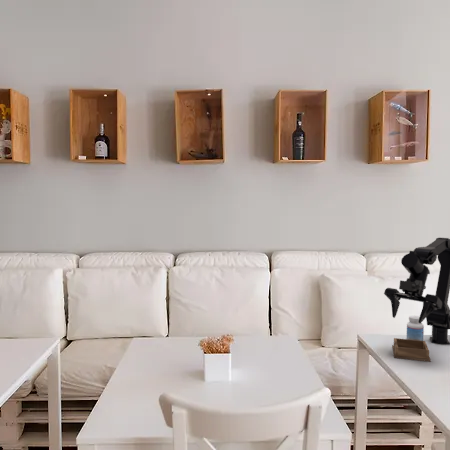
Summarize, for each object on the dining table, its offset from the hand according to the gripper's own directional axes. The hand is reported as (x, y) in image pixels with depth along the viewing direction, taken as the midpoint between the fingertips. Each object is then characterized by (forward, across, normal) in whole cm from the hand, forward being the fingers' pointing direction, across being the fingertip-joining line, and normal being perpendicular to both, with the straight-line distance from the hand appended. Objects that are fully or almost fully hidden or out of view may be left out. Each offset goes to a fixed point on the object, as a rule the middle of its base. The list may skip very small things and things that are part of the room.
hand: (406, 320), depth 154 cm
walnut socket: (+8, -2, +15) cm, 17 cm away
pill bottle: (+2, -5, +24) cm, 25 cm away
